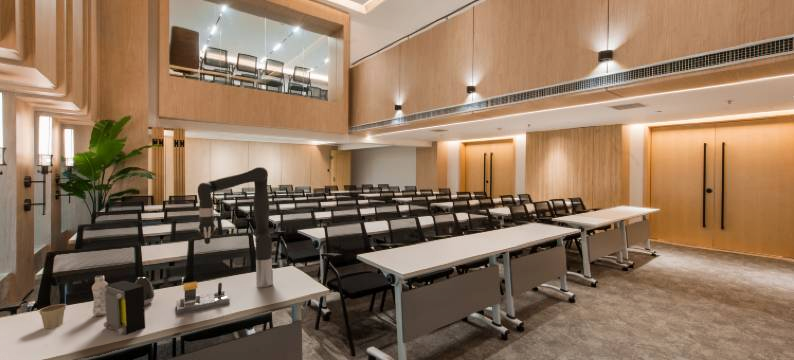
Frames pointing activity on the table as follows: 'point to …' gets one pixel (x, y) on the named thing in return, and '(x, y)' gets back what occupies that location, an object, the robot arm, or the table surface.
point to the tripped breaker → (190, 291)
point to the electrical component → (124, 307)
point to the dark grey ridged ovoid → (146, 289)
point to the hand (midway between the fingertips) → (207, 243)
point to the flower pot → (52, 315)
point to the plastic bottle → (99, 296)
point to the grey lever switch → (203, 302)
